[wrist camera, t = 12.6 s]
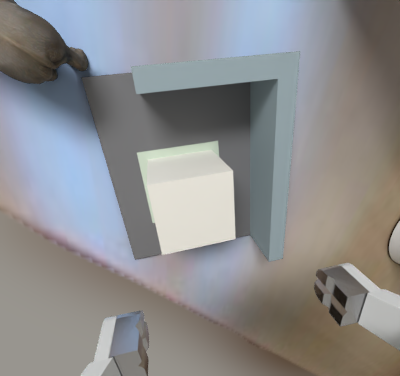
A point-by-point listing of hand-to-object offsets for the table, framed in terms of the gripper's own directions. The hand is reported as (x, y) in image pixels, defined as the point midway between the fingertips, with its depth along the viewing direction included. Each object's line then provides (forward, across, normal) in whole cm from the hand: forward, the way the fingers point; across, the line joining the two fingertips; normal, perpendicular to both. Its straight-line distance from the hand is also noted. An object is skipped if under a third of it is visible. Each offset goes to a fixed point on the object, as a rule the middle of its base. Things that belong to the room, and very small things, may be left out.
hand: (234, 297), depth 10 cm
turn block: (+13, -1, 0) cm, 13 cm away
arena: (+14, 0, +1) cm, 14 cm away
